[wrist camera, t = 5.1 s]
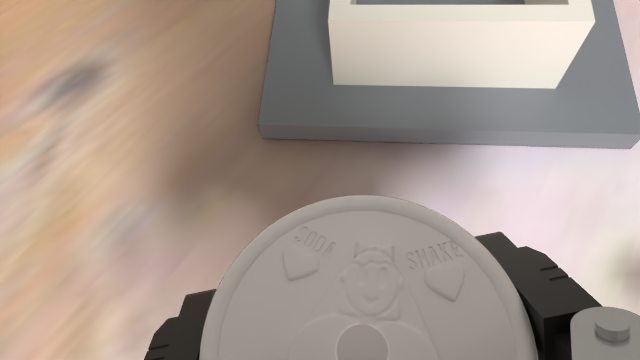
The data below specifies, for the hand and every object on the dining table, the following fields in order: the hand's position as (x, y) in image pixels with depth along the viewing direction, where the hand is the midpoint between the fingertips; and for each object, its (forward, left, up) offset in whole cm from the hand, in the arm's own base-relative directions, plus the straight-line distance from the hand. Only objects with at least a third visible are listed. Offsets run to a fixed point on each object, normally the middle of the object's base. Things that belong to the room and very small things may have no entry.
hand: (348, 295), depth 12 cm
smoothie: (0, -2, -7) cm, 7 cm away
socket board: (+3, +15, -7) cm, 17 cm away
